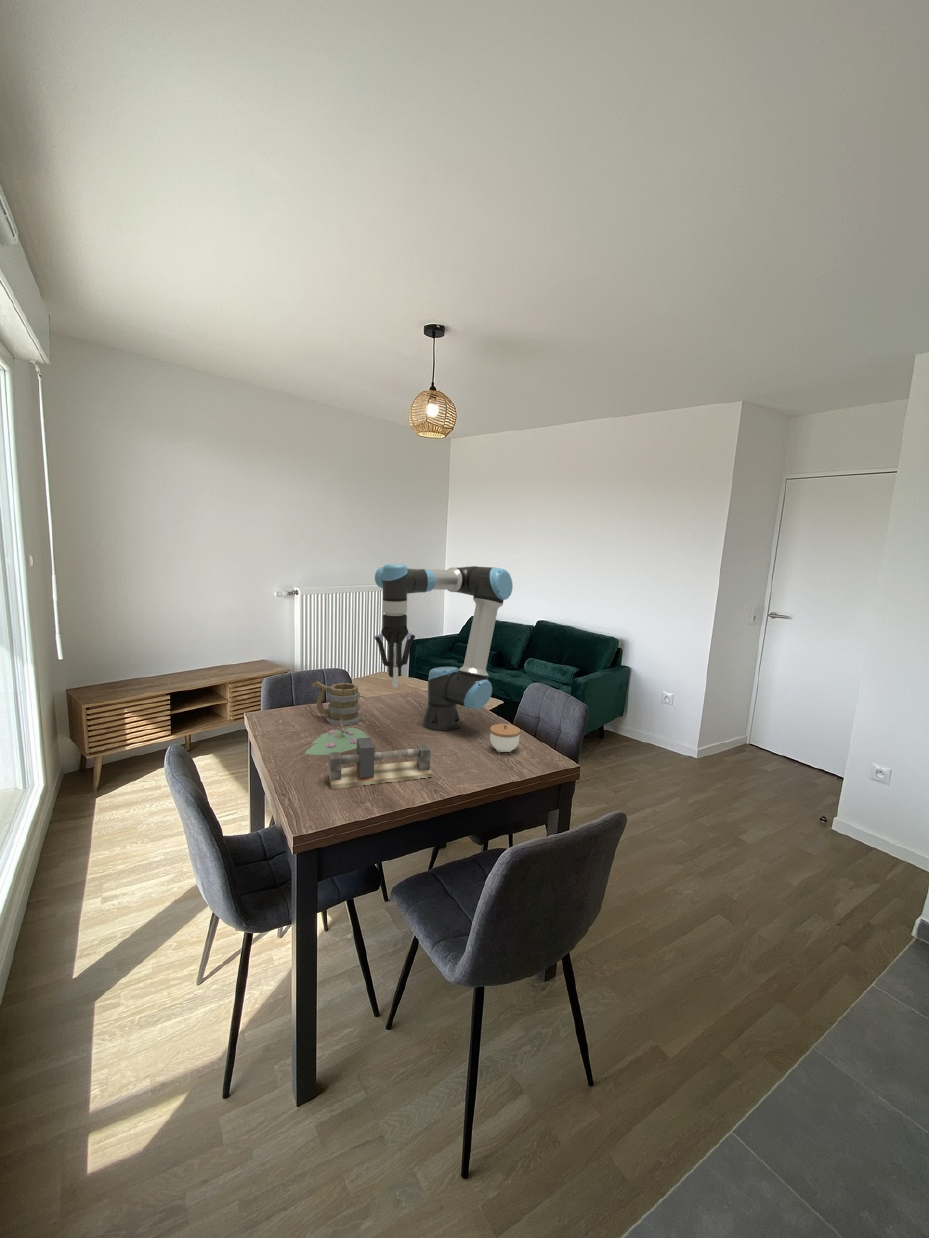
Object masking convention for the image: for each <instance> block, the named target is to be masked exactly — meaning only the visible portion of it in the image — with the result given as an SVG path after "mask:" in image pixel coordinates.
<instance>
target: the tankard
mask: <svg viewBox="0 0 929 1238" xmlns="http://www.w3.org/2000/svg"><path fill="white" fill-rule="evenodd" d="M311 686H312V688H313V689H314V688H316V687H317V688H318V689H319V693H318V697H317V699H316V708H317V710H318V713H320V714H321V715H327V716H326V717H325V720H326V722H328V723H329V725H331V726H334V725H337V727H339V725H340V719H341V718H342V719H341V720H342V722H341V723H342V724H341V725H343V724H345V725H344V726H345V727H346V726H353V725H356V724H357V723H359V722H360V721H361V720H362V716H361V715H360V713H359V711H360V709H361V708H360V704H359V699H360V696H361V692H360V691H359V686H358V685H356V684H355V683H347V682H342V683H341V682H340V683H335V684H332V685H331V686H327V685H325V684H322V683H321V682H320V681H315V682H313V683H312V684H311ZM326 692H328V693H327V698H328V699H329V704H328V705H327V709H326V708H324V706H323V702H324V699H325V695H326ZM341 716H342V717H341ZM343 719H344V722H343ZM352 724H353V725H352ZM344 726H343V727H344Z"/></svg>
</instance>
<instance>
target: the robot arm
mask: <svg viewBox="0 0 929 1238" xmlns="http://www.w3.org/2000/svg"><path fill="white" fill-rule="evenodd" d="M512 579H513V578H512V577H511V575H510V573H509V571H507V570H506V569H505V568H500V567H495V566H492V567H490V566H475V565H472V566H471V565H470V566H461V567H450V568H447V569H437V568H436V569H434V568H417V567H416V568H414V567H412V568H411V567H408V566H407V565H406V564H404V563H387V564H385V565H383V566H382V567H379V568H378V569H377V570H376V571H375V574H374V582H375V584H376V586H378V587H379V588H380V589H382V613H384V614H383V615H382V629H381V630H380V633H379V634H377V635H374V638H373V639H374V640H375V641H376V643H377V646H378V650H379V654H380V658H381V663H382V664H383V665H384V666H385V667H388V677H390V678H391V687H392V688H399V677H402V667H403V666H404V665H407V664H408V661H409V657H410V651H411V648H412V644H413V642H414V640H415V639H416V635H414V634H413V633H411V632H409V630H408V615H407V614H406V613H408V604H407V603H408V595H409V594H416V593H417V594H418V593H419V594H420V593H424V594H425V593H427V592H431V591H432V590H438V591H439V590H441V591H442V590H444V591H445V590H446V591H447V592H448V591H449V592H450V593H459V594H464V595H468V596H473V598H472V600H473V601H474V603H475V608H474V612H473V618H472V622H471V628H470V632H469V637H468V642H467V648H466V651H465V656H464V657H465V658H464V662H463V665H462V666H461V667H460V668H458V667H456V666H440V667H434V668H432V669H430V671H429V672H428V679H427V680H428V681H427V705H426V707H425V711H424V714H423V717H422V725H423V727H425V728H426V729H430V730H433V731H434V730H435V731H452V730H456V729H458V728H459V727H460V726H461V716H460V712H459V709H458V706H462V707H464V708H466V709H473V710H480V709H482V708H484V707H485V706H486V705H487V704H488V703H489V701H490V699H491V696H492V693H493V687H492V683H491V682H490V680H489V673H488V672H487V666H488V660H489V656H490V650H491V645H492V641H493V640H492V639H493V634H494V631H495V630H494V629H495V625H496V621H497V615H498V610H499V609H500V608H501V607H503V604H504V601H505V600H508V599H509V598H510V596H511V595H512V592H513V580H512ZM405 639H406V641H405V645H404V650H403V649H402V646H403V641H404V640H405ZM384 640H385V641H387V654H386V651H385V647H384V642H383V641H384ZM394 647H395V649H394ZM394 650H395V654H394ZM402 651H403V654H402ZM394 656H395V661H394ZM394 662H395V664H396V665H395V664H394Z"/></svg>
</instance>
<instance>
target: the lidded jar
mask: <svg viewBox="0 0 929 1238" xmlns="http://www.w3.org/2000/svg"><path fill="white" fill-rule="evenodd" d="M520 735H521V729H520V728H519V727H517V726H515V725H514V724H508V723H497V724H496V723H495V724H493V725H491V726H490V727H489V740H490V743H491V745H492V747H493V748H494V749H496V750H498V751H500V752H510V753H512V752H513V751H514V750H515V749H516V748H517V747H518V745H519V742H520ZM496 750H495V751H496ZM512 750H513V751H512ZM498 751H497V752H498ZM511 751H512V752H511ZM500 752H499V753H500Z"/></svg>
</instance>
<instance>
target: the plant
mask: <svg viewBox="0 0 929 1238" xmlns="http://www.w3.org/2000/svg"><path fill="white" fill-rule="evenodd" d="M341 717H342V716H341ZM341 719H342V718H341ZM341 719H340V725H339V726H338V725H331V726H332V728H337V729H331V730H329V732H328V731H326V732H327V733H325V732H323V733H324V734H323V733H321V734H322V735H321V734H320V735H321V737H319V738H318V739H316V738H315V739H316V740H315V739H314V740H315V741H314V740H313V741H314V742H313V741H312V742H311V743H317V744H315V745H313V746H312V747H310V749H308V748H307V749H308V750H307V749H306V751H305V752H304V753H305V754H306V755H310V756H314V755H315V756H329V753H333V752H340V754H341V753H343V752H348V751H352V750H354V749H356V750H357V739H359V738H369V736H368V734H367V733H365V732H364V731H362V730H360V729H358V728H356V727H344V725H345V724H343V725H341V724H342V723H341V722H342V720H341ZM343 722H344V719H343ZM343 727H344V728H343Z"/></svg>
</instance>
